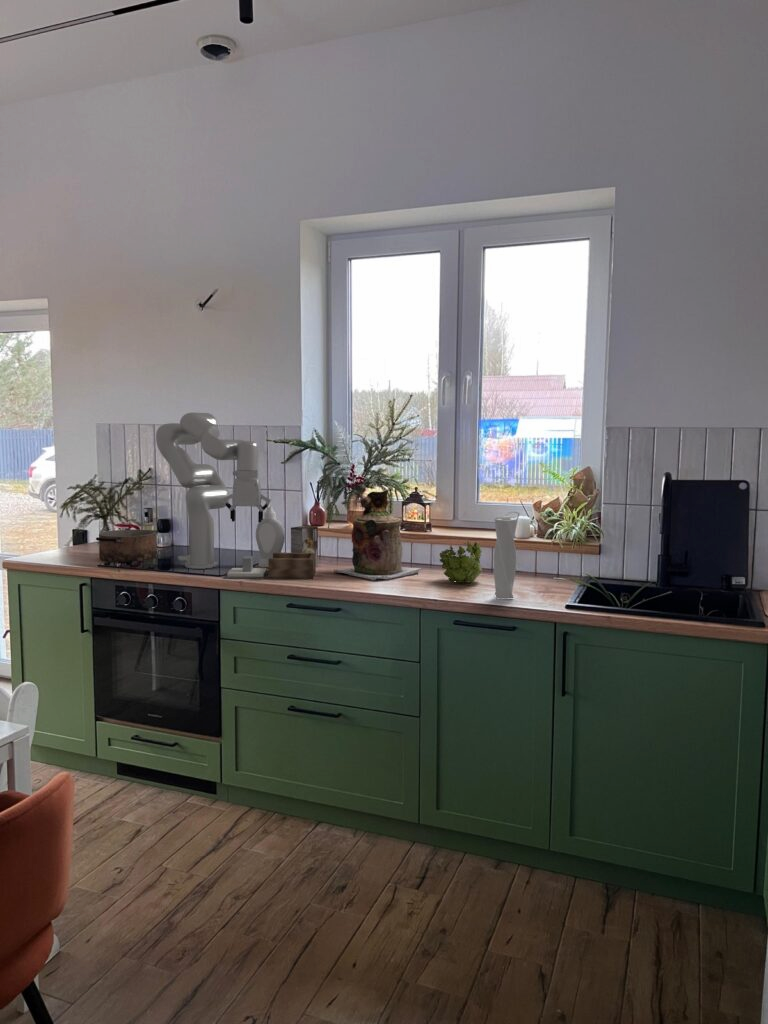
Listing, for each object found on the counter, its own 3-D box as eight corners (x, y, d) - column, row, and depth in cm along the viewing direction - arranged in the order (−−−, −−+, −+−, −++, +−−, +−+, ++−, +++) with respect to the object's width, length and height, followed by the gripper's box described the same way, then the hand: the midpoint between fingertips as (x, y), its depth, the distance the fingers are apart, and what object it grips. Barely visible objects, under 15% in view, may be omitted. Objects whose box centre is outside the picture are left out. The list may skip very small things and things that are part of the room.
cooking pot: (123, 566, 296) (123, 539, 295) (80, 561, 305) (79, 535, 304) (173, 555, 324) (173, 530, 322) (132, 551, 332) (131, 527, 331)
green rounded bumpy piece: (493, 574, 261) (459, 545, 258) (462, 601, 268) (428, 573, 265) (494, 550, 277) (462, 522, 274) (464, 576, 284) (433, 549, 281)
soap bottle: (249, 567, 296) (248, 505, 294) (259, 564, 303) (259, 503, 301) (278, 569, 291) (278, 506, 289) (288, 566, 299) (288, 505, 296)
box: (268, 578, 273) (268, 559, 272) (273, 571, 288) (273, 552, 287) (313, 579, 274) (313, 559, 273) (315, 571, 288) (315, 553, 288)
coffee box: (306, 565, 303) (306, 525, 302) (318, 566, 300) (318, 526, 298) (290, 568, 296) (290, 527, 294) (302, 569, 292) (302, 528, 291)
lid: (227, 576, 275) (227, 559, 274) (232, 571, 286) (232, 554, 285) (263, 576, 275) (263, 559, 274) (267, 571, 286) (267, 555, 285)
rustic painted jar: (376, 565, 304) (377, 486, 301) (423, 574, 287) (424, 489, 284) (330, 573, 286) (331, 488, 283) (378, 582, 269) (379, 492, 266)
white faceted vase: (514, 595, 251) (516, 510, 248) (519, 600, 243) (521, 513, 241) (490, 594, 251) (492, 510, 248) (494, 599, 243) (496, 512, 240)
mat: (223, 578, 273) (223, 577, 273) (231, 571, 288) (231, 570, 288) (265, 578, 273) (265, 577, 273) (270, 571, 288) (270, 570, 288)
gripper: (221, 475, 273) (221, 522, 275) (269, 476, 273) (269, 523, 275) (225, 473, 280) (224, 519, 282) (272, 475, 281) (271, 521, 283)
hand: (246, 521), depth 279 cm, fingers open, 9 cm apart
